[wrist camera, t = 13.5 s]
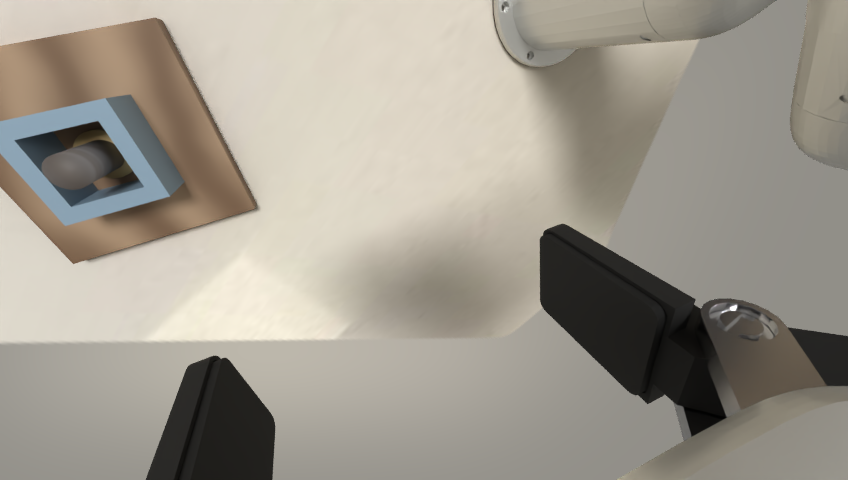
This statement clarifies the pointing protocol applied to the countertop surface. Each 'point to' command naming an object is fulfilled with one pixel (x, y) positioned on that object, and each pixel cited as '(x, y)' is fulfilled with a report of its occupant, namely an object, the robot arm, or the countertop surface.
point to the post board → (95, 151)
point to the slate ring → (138, 145)
